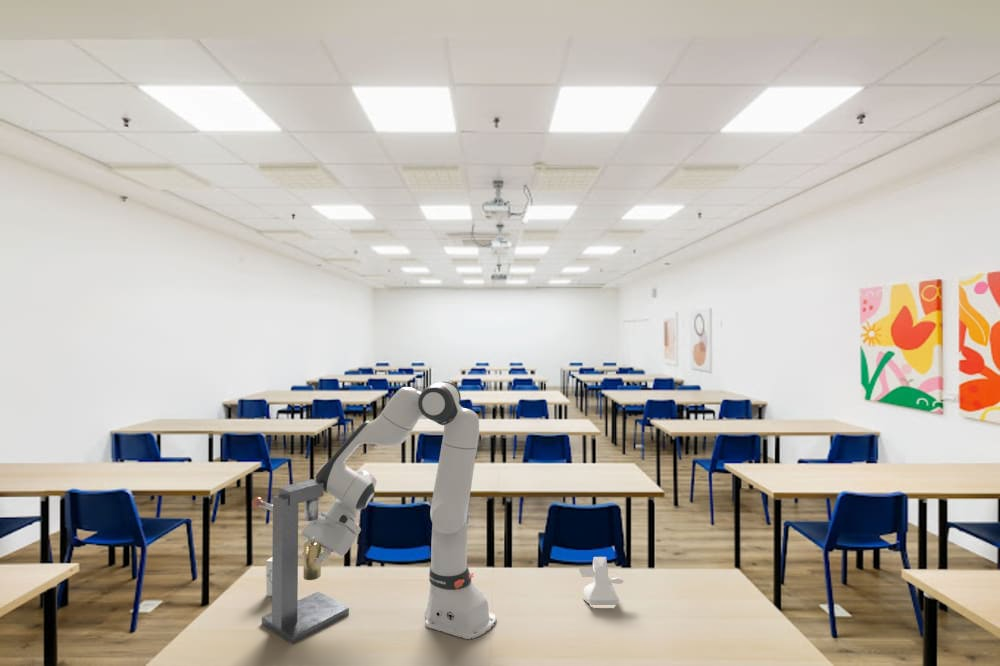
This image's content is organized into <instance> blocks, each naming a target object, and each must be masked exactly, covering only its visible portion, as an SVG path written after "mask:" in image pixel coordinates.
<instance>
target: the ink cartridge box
mask: <svg viewBox="0 0 1000 666" xmlns="http://www.w3.org/2000/svg"><path fill="white" fill-rule="evenodd" d="M265 565H266V567H265V569H266V571H265V573H266V574H265V575H266V577H265V578H266V579H265V580H266V597H272V556H271V557H270V558H268V559H267V560H266V564H265Z"/></svg>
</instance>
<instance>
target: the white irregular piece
mask: <svg viewBox="0 0 1000 666" xmlns="http://www.w3.org/2000/svg"><path fill="white" fill-rule="evenodd" d="M592 558H593V560H592V567H579V568H578V570H579V572H580V575H581V577H582V578H593V582H591V583H589V584H587V585H585V586H584V588H583V593H582V595H583V594H584V597H585V600H586V601H588V602H589V603H590V604H591V605H616V606H617V605H618V604H619V601H620V598H619V596H618V594H617V592H616V590H615V588H614V586H613V584H616V585H621V584H623V583H625V582H624V581H625V580H624V579H623V578H621V577H613V578H611V576H610V575H609V570H608V569H609V568H608V562H607V561H608V560H607V557H606V556H594V557H592Z"/></svg>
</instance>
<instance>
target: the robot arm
mask: <svg viewBox="0 0 1000 666" xmlns="http://www.w3.org/2000/svg"><path fill="white" fill-rule="evenodd" d="M461 399H462V398H461V393H460V390H459V389H458V387H457V386H456V385H455V384H453V383H451V382H449V381H437V382H434V383H432V384H430V385H428V386H426V387H425V388H424V389H423V390H422V391H421V390H418V389H416V388H414V387H412V386H403V387H401V388H399V389H398V390H397V391H396V392H395V393H394V394H393V395H392V397H391V399H390V400H389V401H388V402H387V404H386V405H385V407H384V408H383V410H381V413H380V414H379V415H378V416H377V417H376V418H374V419H373V420H365V421H364V422H362V424H360V425H359V426H358V427H357V428H356V429H355V430H354V431H353V432H352V434H351V435H350V436H349V437H348V438H347V439H346V440H345V441H344V443H343V444H342V445H341V446H340V447H339V448H338V449H337V450H336V452H335V453H334V454H333V455H332V456H331V457H330V458H329V459H328V460H327V461H326V462H325V463H324V464H323V465H321V467H320V468H319V469H318V471H317V472H316V474H315V475H316V476H315V480H316V481H319V482H322V483H323V493H327V494H329V495H330V496H332V497H334V498H335V501H333V503H332V504H331V506H330V507H329V508H328V510H327V511H326V512H323V511H321V512H318V519H317V520H314V521H308V523H307V524H306V525H305V526H304V527H303V529H302V530H301V532H300V535H301V536H302V537H303V538H304V539H306V540H308V541H311V537H313V536H314V537H315V541H317V542H319V543H321V548H323V550H322V551H323V552H321V554H320V555H317V556H316V558H315V559H314V561H315V562H317V563H318V564H321V565H322V562H323V561H324V560H325V559H326V558H328V557H329V556H330V555H331V554H332V553H334V554H336V555H337V556H340V557H342V556H344V555H346V554H347V553H348V552H349V550H350V549H351V547H352V545H353V544H354V542H355V540H356V537H357V535H359V534H360V533H361V532H362V529H361V527H360V526H359V525H358V523H357V522H356V521H355V520H356V519H357V518H358V514H359V512H360V511H361V510H364V509H366V508H367V507H368V505H369V504H370V502H371V500H372V499H374V496H375V495H376V494H375V493H376V491H375V488H376V486H377V479H376V478H375V476H374V475H373V474H371V472H368V471H366V470H358V471H355V470H354V469H353V468H351V467H349V466H348V465H347V463H346V461H347V460H348V459H349V457H351V455H352V454H353V453H354V452H355V451H356V449H358V447H359V446H361V445H364V444H367V445H368V444H369V445H376V446H380V447H396V446H398V445H401V444H403V443H404V442H405V441H406V440H407V438H408V437H409V436H410V434H411V433H412V431H413V430H414V428H415V426H416V424H417V423H418V421H419V420H420V419H421V417H425V418H427V419H428V420H431V421H432V422H435V423H437V424H438V425H441V426H443V436H442V440H441V441H442V442H441V446H440V447H441V448H440V452H439V460H438V464H437V470H436V474H435V475H436V477H435V482H434V487H433V492H432V499H431V504H430V512H429V514H430V515H429V516H430V520H431V523H432V527H431V528H432V529H431V542H430V543H431V546H430V549H431V550H430V551H431V552H430V560H431V561H430V567H429V574H428V577H429V579H428V580H429V582H430V587H429V593H428V594H429V595H428V602H427V606H426V609H425V611H424V617H425V627H426V628H429V629H432V630H435V631H437V632H441V631H442V633H446V634H449V635H451V634H452V636H456V637H458V638H461V637H462V639H465V640H471V638H472V639H475V638H478V637H480V636H482V635H484V634H485V633H486V631H487V632H488V631H490V630H491V629H492V628H493V627H494V626H495V624H496V623H495V622H497V615H496V614H494V613H492V611H489V603H488V602H489V601H488V600H487V598H486V597H485V596H484V594H483V592H482V591H481V590H479V588H478V587H477V586H476V585H475V583H473V581H472V578H474V577H475V576H474V574H475V573H474V572H472V573H471V574H470V570H469V567H468V562H467V561H468V557H467V556H468V513H469V512H468V511H469V505H470V499H471V498H470V496H471V489H472V483H473V476H474V469H475V463H476V456H477V451H478V445H479V437H480V436H479V435H480V421H479V415H478V414H477V413H476V412H475V411H474V410H472V409H470V408H465V407H463V406H462V405H461V404H460V403H461ZM308 541H307V542H308ZM302 556H303V557H304V551H303V552H302ZM494 623H495V624H494ZM492 626H493V627H492ZM491 627H492V628H491Z"/></svg>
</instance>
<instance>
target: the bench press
mask: <svg viewBox="0 0 1000 666" xmlns="http://www.w3.org/2000/svg"><path fill="white" fill-rule="evenodd" d="M321 497H324V491H323V483H322V482H319V481H316V479H312V478H311V479H308V480H303V481H300V482H296V483H292V484H288V485H284V486H280V487H278V495H273V496H272V504H271V503H268V502H266V501H264V499H263V498H262V497H260V496H257V497H254V498H253V499H252V503H251V504H252V506H253V507H255V508H260V507H262V508H264V509H266V510H268V511H271V512H272V556H271V557H272V596H271V598H272V599H271V612H270V613H268V614H266V615H263V616H261V625H263V626H264V625H265V626H264V627H266V628H267V627H268V628H267V629H268V630H270V629H271V631H272V632H274V633H275V634H276V635H278V636H279V637H281V638H283V639H284V640H286V642H289V644H292V645H293V644H295V643H296V642H299V641H300V640H302V639H304V638H306V637H308V636H310V635H311V634H314V633H316V632H317V631H320V630H322V629H323V628H325V627H327V626H329V625H331V624H333V623H335V622H337V621H339V620H341V619H342V618H344V617H346V616H348V615H349V614H350V608H349V607H348V606H346V605H344V604H343V603H341V602H339V601H337V600H335V599H334V598H331V597H329V596H327V595H325V594H324V593H322V592H320V591H316V592H314V593H312V594H310V595H307V596H305V597H303V598H301V599H299V598H298V595H299V593H298V591H299V589H298V584H299V577H298V575H299V573H298V571H299V504H301V503H303V502H304V511H303V512H304V521H306V522H309V521H314V520H317V519H318V514H319V508H320V507H319V504H320V503H319V500H320V499H319V498H321ZM298 599H299V600H298Z"/></svg>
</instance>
